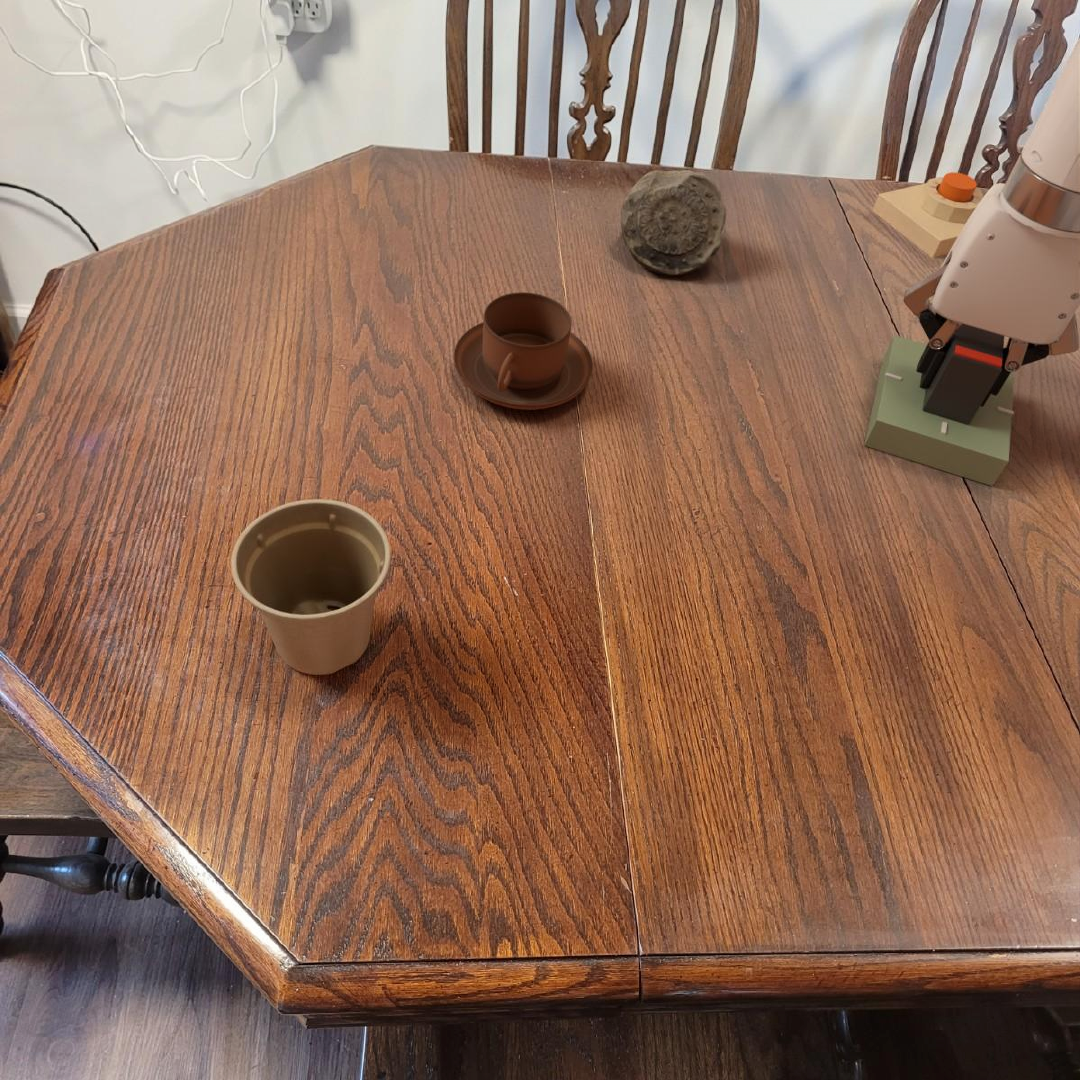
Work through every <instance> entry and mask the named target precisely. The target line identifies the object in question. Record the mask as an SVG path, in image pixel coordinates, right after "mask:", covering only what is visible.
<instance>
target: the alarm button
mask: <svg viewBox="0 0 1080 1080" xmlns="http://www.w3.org/2000/svg"><path fill="white" fill-rule="evenodd" d="M943 177H944V178H943V180H942V182H941V184H940V186H939V189H938V194H940V195H941V196H943V197H944V198H946V199H948V200H951V201H954V202H960V203H967V202H969V201H970V199H971V197H972V195H973V193H974V191H975V189H977V186H978V183H977V181H976V180H975V179H974V178H972V177H971V176H969V175H968V174H964V173H961V172H955V171H954V172H947V173H945V174H944V175H943Z"/></svg>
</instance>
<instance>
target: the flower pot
mask: <svg viewBox="0 0 1080 1080" xmlns="http://www.w3.org/2000/svg"><path fill="white" fill-rule="evenodd" d="M391 552H392V550H391V544H390V540H389V538H388V535H387V533H386V531H385V529H384V528H383V527H382V526H381V524H380V523H379V522H378V521H377V520H376V519H375V518H374V517H373V516H372V515H371V514H369V513H368V512H367V511H365V510H363V509H361V508H360V507H358V506H355V505H353V504H350V503H347V502H345V501H340V500H336V499H335V500H334V499H324V498H323V499H322V498H321V499H320V498H313V499H312V498H311V499H309V498H308V499H302V500H301V499H300V500H295V501H291V502H287V503H284V504H281V505H278V506H276V507H274V508H272V509H270V510H268V511H265V512H264V513H263V514H261V515H260V516H259V515H258V517H257V518H255V519H254V520H252V522H250V523H249V524H248V525H247V526H246V527H245V529H244V530H243V531H242V532H241V534H239V536H238V538H237V540H236V541H235V543H234V547H233V549H232V552H231V559H230V572H231V577H232V579H233V583H235V587H236V589H237V590H238V592H239V593H240V594H241V596H242V597H243V598H244V599H245V600H246V601H247V602H248V603H249V604H251V606H253V607H254V608H255V609H256V610H257V611H258V612H259V614H260V616H261V618H262V620H263V622H264V625H265V627H266V629H267V631H268V633H269V635H270V637H271V640H272V642H273V644H274V647H275V650H276V653H277V654H278V655H279V656H280V658H281V659H282V661H283V662H284V663H286V664H287V666H289V667H290V668H292V669H294V671H298V672H300V673H303V674H308V675H315V676H324V675H332V674H334V673H336V672H338V671H340V670H342V669H344V668H346V667H348V666H350V665H353V664H355V663H356V662H357V661H358V660H359V659H360V658H361V657H362V656H363V654H364V652H365V651H366V650H367V648H368V646H369V642H370V640H371V639H370V638H371V628H372V622H373V617H374V609H375V604H376V598H377V594H378V592H379V590H380V588H381V587H382V586H383V584H384V582H385V580H386V578H387V576H388V573H389V571H390V566H391V559H392V553H391ZM328 607H331V608H332V607H334V608H338V609H335V610H333V609H328Z"/></svg>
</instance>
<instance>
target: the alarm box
mask: <svg viewBox="0 0 1080 1080" xmlns="http://www.w3.org/2000/svg"><path fill="white" fill-rule="evenodd" d="M943 178H944V176H937V177H935V178H933V177H932V178H929V179H927V181H926V183H922V184H918V185H914V186H909V187H908V186H907V187H903V188H899V189H895V190H891V191H886V192H881V193H879V194H877V195H878V196H877V198H876V200H875V203H874V206H873V208H872V210H871V211H872V212H873V213H874V214H876V215H877V216H878V217H879V218H881V219H882V220H884V221H885V222H886V223H887V224H889V226H891V227H892V228H894V229H895V230H896V231H898V232H899V233H900V234H901V235H903V236H904V237H905V238H906V239H908V240H909V241H910V242H912V243H913V244H914V245H916V246H917V247H918V248H919V249H920V250H922V251H923V252H925V253H926V254H927V255H928V256H930V257H931V258H932V259H933V258H937V257H941V256H945V255H948V253H949V251H950V250H951V248H952V246H953V244H954V242H955V241H956V239H957V237H958V235H959V234H960V232H961V230H962V229H963V227H964V225H965V224H966V222H967V221H968V219H969V217H970V216H971V214H972V213H973V211H974V210H975V208H976V207H977V205H978V204H979V203H980V201H981V200H982V198H983V197H984V196H985V195H984V194H983V192H982V191H981V190H980V189H978V188H976V189H975V191H974V193H973V195H972V197H971V199H970V201H969V202H967V203H960V202H954V201H951V200H948V199H946V198H944V197H943V196H941V195H940V194H938V189H939V186H940V184H941V182H942V180H943Z"/></svg>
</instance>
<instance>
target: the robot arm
mask: <svg viewBox="0 0 1080 1080" xmlns="http://www.w3.org/2000/svg"><path fill="white" fill-rule="evenodd" d="M983 196H984V197H983V198H982V200H981V201H980V203H979V204H978V205H977V207H976V208H975V210H974V211H973V213H972V214H971V216H970V217H969V219H968V221H967V222H966V224H965V225H964V227H963V229H962V230H961V232H960V234H959V235H958V237H957V239H956V241H955V242H954V244H953V246H952V248H951V250H950V251H949V253H948V254H946V257H945V259H944V261H943V262H942V264H941V266H940V268H938V269H937V270H935V271H933V272H932V273H930V274H929V275H927V276H925V277H923V278H922V279H920V280H919V281H917V282H915V283H914V284H912V285H911V286H909V287H907V288H906V289H905V292H904V296H903V303H904V305H905V306H906V307H907V308H908V309H909V310H910V312H911V313H912V314H913V315H914V316H916V318H917V319H918V321H919V324H920V326H921V328H922V329H923V332H924V333H925V335H926V337H927V339H928V342H927V346H926V348H925V350H924V352H923V354H922V356H921V358H920V360H919V362H918V365H917V369H916V372H919V373H922V375H921V381H920V388H922V389H926V388H929V387H930V385H931V383H932V381H933V379H934V378H935V376H936V374H937V372H938V370H939V368H940V366H941V364H942V363H943V361H944V359H945V357H946V354H947V348H948V341H949V340H950V339H951V337H952V336H953V335H954V334H955V333H956V331H957V330H958V329H959V328H960V327H961V326H962V324H965V325H969V326H972V327H975V328H979V329H982V330H986V331H989V332H992V333H996V334H999V335H1003V336H1004V337H1007V338H1008V339H1007V341H1006V346H1005V347H1004V348H1003V361H1002V371H1001V372H1000V374H999V376H998V377H997V379H996V381H995V382H994V384H993V386H992V387H991V389H990V391H989V392H988V394H987V396H986V397H985V399H984V401H983V402H982V404H981V407H983V406H984V405H985V403H986V401H987V400H988V398H989V396H990V395H991V394H992V395H995V396H996V395H997V394H998V393H999V391H1000V390H1001V388H1002V386H1003V385H1004V383H1005V381H1006V380H1007V378H1008V377H1009V375H1010V373H1011V372H1014V373H1015V372H1018V371H1019V370H1021V368H1022V366H1026V365H1029V364H1032V363H1036V362H1039V361H1041V360H1044V359H1046V358H1047V357H1049V356H1051V357H1052V356H1053V357H1054V356H1060V355H1066V354H1072V353H1075V352H1077V351H1078V350H1079V348H1080V335H1079V329H1078V328H1079V327H1078V321H1077V317H1076V312H1077V310H1078V308H1079V306H1080V37H1078V40H1077V42H1076V44H1075V46H1074V48H1073V49H1072V52H1071V53H1070V55H1069V57H1068V60H1066V63H1065V64H1064V67H1063V69H1062V71H1061V73H1060V75H1059V77H1058V79H1057V81H1056V83H1055V85H1054V87H1053V89H1052V92H1051V93H1050V95H1049V97H1048V98H1047V101H1046V103H1045V105H1044V107H1043V108H1042V110H1041V113H1040V115H1039V117H1038V119H1037V120H1036V123H1035V125H1034V127H1033V128H1032V130H1031V132H1030V135H1029V136H1028V138H1027V140H1026V143H1025V144H1024V146H1023V148H1022V151H1021V152H1020V154H1019V156H1018V158H1017V160H1016V162H1015V164H1014V166H1013V168H1012V169H1011V172H1010V174H1009V176H1008V178H1007V180H1006V181H1005V183H1002V182H999V183H995V184H993V185H992V186H990V188H989V189H988V191H987V192H986V193H985V195H983ZM931 297H933V299H932V302H931V301H930V298H931Z"/></svg>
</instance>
